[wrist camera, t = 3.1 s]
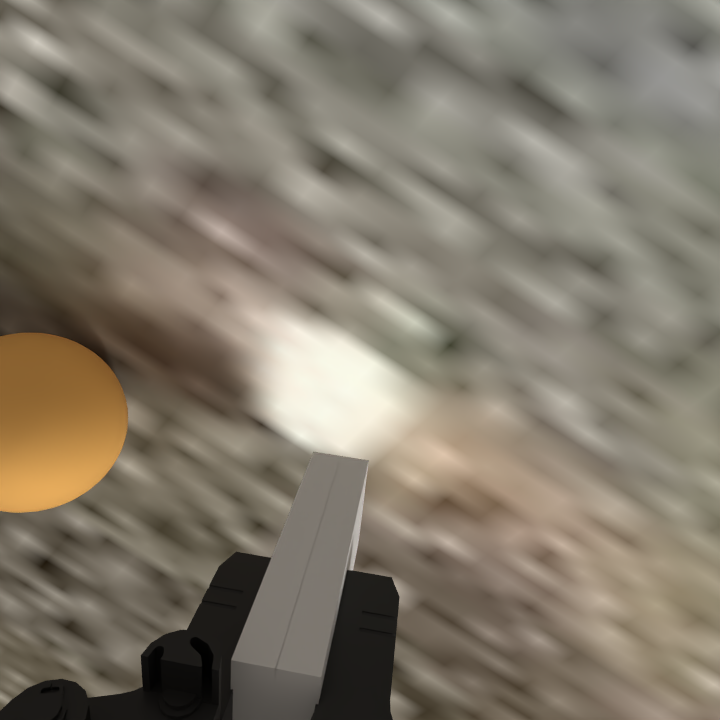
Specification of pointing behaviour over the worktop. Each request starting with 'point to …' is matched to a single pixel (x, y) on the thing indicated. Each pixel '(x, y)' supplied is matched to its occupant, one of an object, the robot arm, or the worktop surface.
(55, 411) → the ball
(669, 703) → the worktop surface
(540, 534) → the worktop surface
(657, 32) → the worktop surface
